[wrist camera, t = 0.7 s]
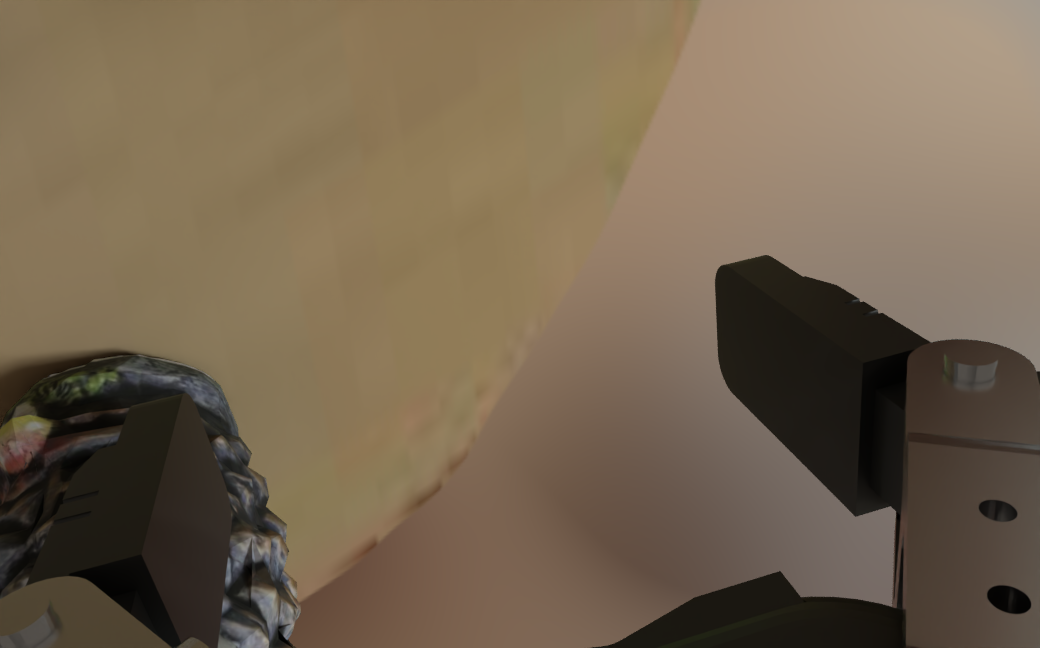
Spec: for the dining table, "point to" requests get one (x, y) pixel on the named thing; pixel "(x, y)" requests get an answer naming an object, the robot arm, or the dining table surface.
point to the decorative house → (97, 424)
